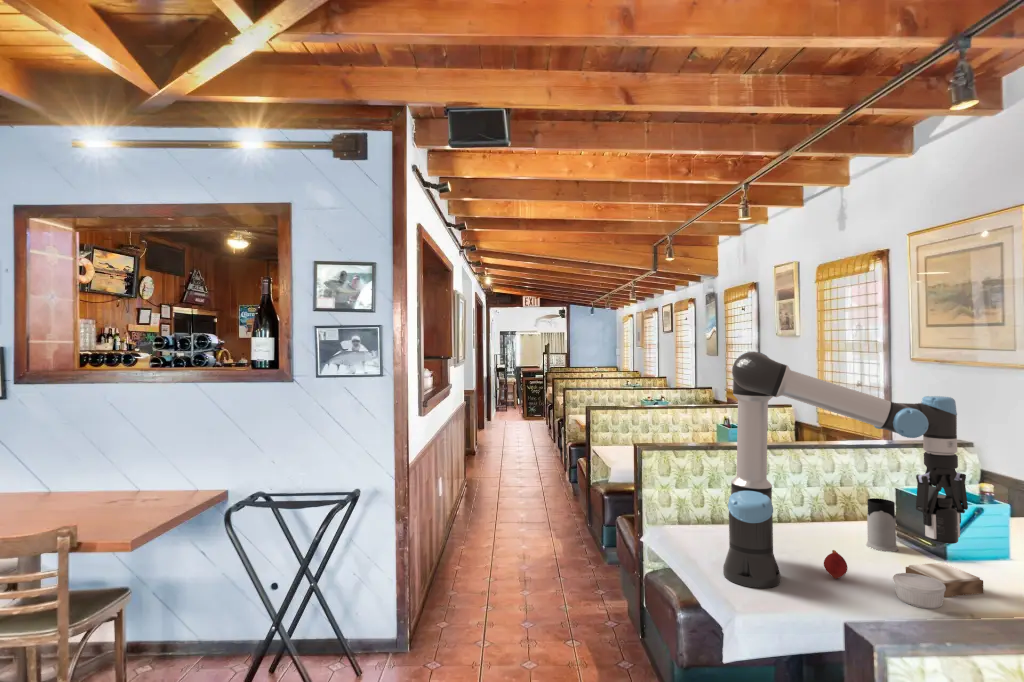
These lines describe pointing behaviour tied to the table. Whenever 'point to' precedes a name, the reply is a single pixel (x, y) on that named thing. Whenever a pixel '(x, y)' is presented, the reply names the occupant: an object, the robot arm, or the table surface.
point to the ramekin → (919, 590)
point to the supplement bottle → (945, 520)
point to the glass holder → (881, 525)
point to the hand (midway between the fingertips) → (942, 536)
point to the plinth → (949, 578)
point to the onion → (835, 565)
